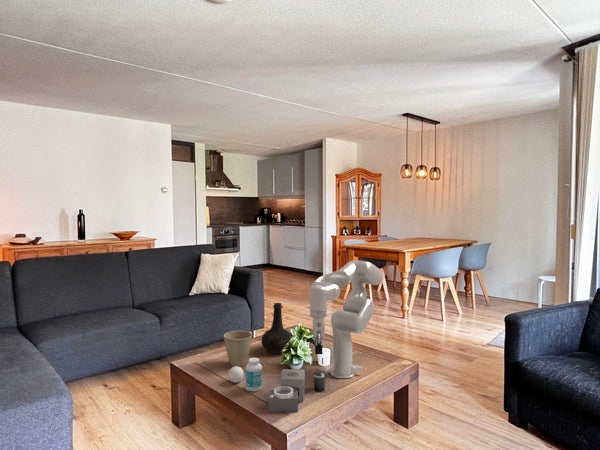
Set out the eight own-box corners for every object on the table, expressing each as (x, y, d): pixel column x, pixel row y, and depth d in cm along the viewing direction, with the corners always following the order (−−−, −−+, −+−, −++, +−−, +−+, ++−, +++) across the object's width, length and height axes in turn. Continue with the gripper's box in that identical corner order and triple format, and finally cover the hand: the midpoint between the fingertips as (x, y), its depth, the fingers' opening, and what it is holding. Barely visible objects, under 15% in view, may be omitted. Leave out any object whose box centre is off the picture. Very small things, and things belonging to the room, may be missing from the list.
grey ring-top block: (297, 401, 166) (297, 385, 166) (298, 411, 158) (298, 394, 158) (269, 402, 166) (269, 386, 165) (268, 412, 158) (268, 395, 157)
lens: (324, 387, 180) (324, 370, 179) (325, 392, 175) (325, 374, 174) (313, 387, 180) (313, 370, 179) (313, 392, 174) (313, 375, 174)
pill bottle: (255, 393, 173) (255, 364, 173) (242, 389, 177) (242, 360, 177) (265, 387, 180) (265, 358, 179) (252, 383, 183) (252, 355, 183)
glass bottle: (256, 353, 221) (255, 305, 220) (270, 343, 237) (270, 298, 236) (284, 358, 214) (284, 308, 213) (297, 347, 230) (297, 301, 229)
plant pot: (250, 370, 198) (249, 339, 198) (221, 369, 199) (221, 339, 198) (254, 358, 213) (253, 330, 213) (227, 358, 214) (227, 330, 213)
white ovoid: (247, 382, 185) (246, 367, 184) (233, 386, 180) (233, 371, 180) (235, 375, 192) (235, 360, 192) (222, 379, 187) (222, 364, 187)
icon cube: (280, 401, 166) (280, 378, 166) (282, 390, 176) (282, 369, 176) (303, 402, 166) (303, 379, 165) (304, 391, 176) (304, 369, 175)
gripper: (327, 318, 167) (327, 357, 168) (325, 308, 184) (325, 343, 185) (310, 318, 167) (310, 357, 168) (309, 308, 184) (309, 343, 185)
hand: (318, 349), depth 177 cm, fingers open, 9 cm apart
